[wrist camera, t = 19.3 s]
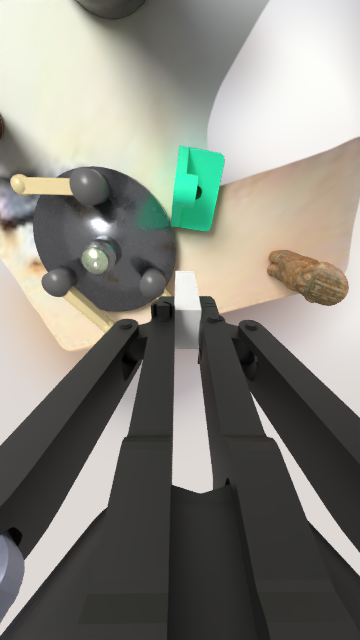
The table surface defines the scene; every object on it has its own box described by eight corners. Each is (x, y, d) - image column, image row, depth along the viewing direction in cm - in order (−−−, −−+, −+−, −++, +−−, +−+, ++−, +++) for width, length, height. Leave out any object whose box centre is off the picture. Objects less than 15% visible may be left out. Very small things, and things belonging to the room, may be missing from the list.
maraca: (108, 170, 36) (98, 167, 31) (112, 204, 38) (104, 205, 34) (20, 167, 35) (-1, 164, 31) (31, 202, 38) (13, 203, 34)
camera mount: (208, 229, 43) (216, 239, 34) (171, 224, 42) (169, 232, 34) (223, 156, 37) (237, 145, 28) (179, 148, 36) (180, 134, 27)
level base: (16, 165, 37) (-31, 158, 29) (176, 169, 37) (176, 163, 29) (60, 306, 52) (37, 329, 43) (175, 308, 52) (174, 331, 44)
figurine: (266, 249, 45) (301, 273, 32) (305, 243, 44) (357, 265, 32) (263, 286, 49) (294, 320, 36) (299, 281, 49) (343, 314, 36)
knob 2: (137, 276, 45) (133, 285, 41) (155, 262, 44) (152, 270, 40) (187, 329, 53) (188, 341, 48) (203, 318, 51) (205, 330, 47)
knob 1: (48, 275, 45) (35, 283, 41) (62, 260, 43) (50, 268, 39) (110, 328, 52) (104, 340, 48) (124, 317, 51) (119, 329, 46)
